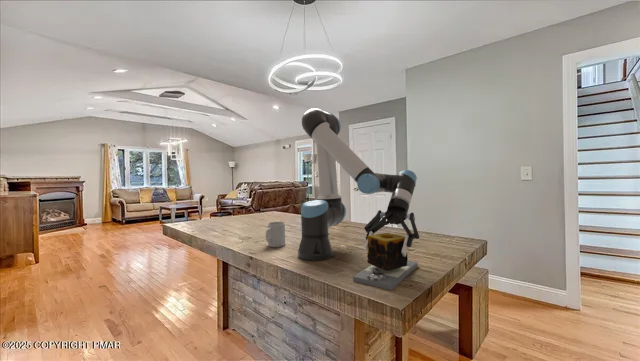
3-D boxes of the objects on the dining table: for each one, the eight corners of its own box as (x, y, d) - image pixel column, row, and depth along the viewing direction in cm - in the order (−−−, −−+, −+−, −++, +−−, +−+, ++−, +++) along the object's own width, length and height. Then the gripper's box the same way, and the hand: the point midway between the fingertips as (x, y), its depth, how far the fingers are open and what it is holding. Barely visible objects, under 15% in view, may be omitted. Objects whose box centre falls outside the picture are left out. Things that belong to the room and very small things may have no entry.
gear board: (353, 281, 89) (353, 269, 89) (384, 260, 110) (384, 250, 110) (391, 290, 82) (391, 277, 82) (417, 266, 103) (417, 255, 103)
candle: (385, 271, 89) (385, 241, 89) (366, 263, 98) (366, 235, 97) (408, 266, 94) (408, 237, 94) (388, 258, 103) (387, 232, 102)
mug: (275, 242, 143) (275, 221, 143) (288, 244, 139) (288, 222, 139) (259, 247, 133) (259, 225, 133) (273, 249, 129) (273, 226, 128)
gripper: (434, 211, 101) (423, 263, 89) (373, 207, 115) (356, 251, 103) (431, 198, 96) (418, 250, 84) (367, 195, 111) (349, 240, 99)
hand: (384, 251), depth 94 cm, fingers closed on candle, 13 cm apart
